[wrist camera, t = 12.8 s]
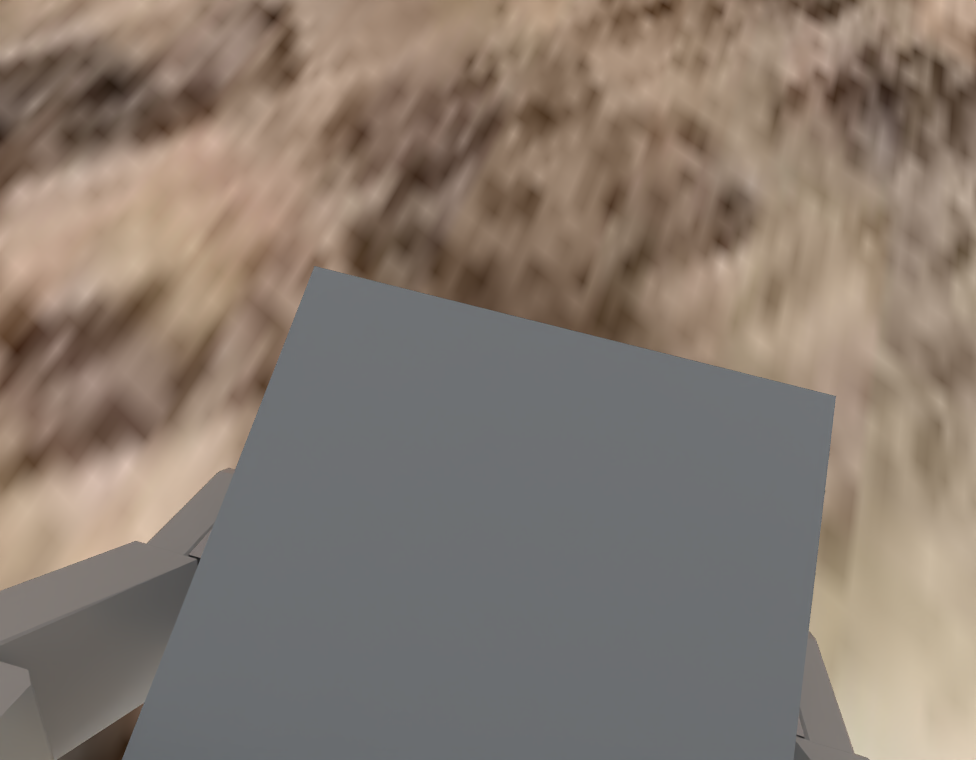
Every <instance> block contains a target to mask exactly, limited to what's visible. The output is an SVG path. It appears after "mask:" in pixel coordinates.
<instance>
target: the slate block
mask: <svg viewBox="0 0 976 760" xmlns="http://www.w3.org/2000/svg"><path fill="white" fill-rule="evenodd" d="M835 399H836V396H833V395H829V394H825V393H821V392H817V391H813V390H809V389H805V388H801V387H797V386H793V385H789V384H785V383H781V382H777V381H773V380H769V379H765V378H761V377H757V376H753V375H749V374H745V373H741V372H737V371H733V370H729V369H725V368H721V367H717V366H713V365H709V364H705V363H701V362H697V361H693V360H689V359H685V358H681V357H677V356H673V355H669V354H665V353H661V352H657V351H653V350H649V349H645V348H641V347H637V346H633V345H629V344H625V343H621V342H617V341H613V340H609V339H605V338H601V337H597V336H593V335H589V334H585V333H581V332H577V331H573V330H569V329H565V328H561V327H557V326H553V325H549V324H545V323H540V322H536V321H532V320H528V319H524V318H520V317H516V316H512V315H508V314H504V313H500V312H496V311H492V310H488V309H484V308H480V307H476V306H472V305H468V304H464V303H460V302H456V301H452V300H448V299H444V298H440V297H436V296H432V295H428V294H424V293H420V292H416V291H412V290H408V289H404V288H400V287H396V286H392V285H388V284H384V283H380V282H376V281H372V280H368V279H364V278H360V277H356V276H352V275H348V274H344V273H340V272H336V271H332V270H328V269H324V268H320V267H316V266H314V269H313V272H312V274H311V277H310V279H309V282H308V284H307V287H306V290H305V292H304V295H303V297H302V300H301V302H300V305H299V307H298V310H297V313H296V315H295V318H294V320H293V323H292V325H291V328H290V331H289V333H288V336H287V338H286V341H285V343H284V346H283V348H282V351H281V354H280V356H279V359H278V361H277V364H276V366H275V369H274V372H273V374H272V377H271V379H270V382H269V384H268V387H267V390H266V392H265V395H264V397H263V400H262V402H261V405H260V407H259V410H258V413H257V415H256V418H255V420H254V423H253V425H252V428H251V431H250V433H249V436H248V438H247V441H246V443H245V446H244V448H243V451H242V454H241V456H240V459H239V461H238V464H237V466H236V469H235V472H234V474H233V477H232V479H231V482H230V484H229V487H228V490H227V492H226V495H225V497H224V500H223V502H222V505H221V507H220V510H219V513H218V515H217V518H216V520H215V523H214V525H213V528H212V531H211V533H210V536H209V538H208V541H207V543H206V546H205V548H204V551H203V554H202V556H201V559H200V561H199V564H198V566H197V569H196V572H195V574H194V577H193V579H192V582H191V584H190V587H189V590H188V592H187V595H186V597H185V600H184V602H183V605H182V607H181V610H180V613H179V615H178V618H177V620H176V623H175V625H174V628H173V631H172V633H171V636H170V638H169V641H168V643H167V646H166V648H165V651H164V654H163V656H162V659H161V661H160V664H159V666H158V669H157V672H156V674H155V677H154V679H153V682H152V684H151V687H150V690H149V692H148V695H147V697H146V700H145V702H144V705H143V707H142V710H141V713H140V715H139V718H138V720H137V723H136V725H135V728H134V731H133V733H132V736H131V738H130V741H129V743H128V746H127V748H126V751H125V754H124V756H123V759H122V760H794V751H795V743H796V734H797V726H798V717H799V708H800V700H801V691H802V683H803V674H804V666H805V657H806V648H807V640H808V631H809V623H810V614H811V605H812V597H813V588H814V580H815V571H816V562H817V554H818V545H819V537H820V528H821V519H822V511H823V502H824V494H825V485H826V476H827V468H828V459H829V451H830V442H831V433H832V425H833V416H834V408H835Z"/></svg>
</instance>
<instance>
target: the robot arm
mask: <svg viewBox="0 0 976 760" xmlns="http://www.w3.org/2000/svg"><path fill="white" fill-rule="evenodd" d="M234 472H235V469H231V468H227V469H224V470H222V471H219V472H218V473H217V474H216V475H215V476H214V477H213V478H212V479H211V480H210V481H209V482H208V483H207V484H206V485H205V486H204V487H203V488H202V489H201V490H200V491H199V492H198V493H197V494H196V495H195V496H194V497H193V498H192V499H191V500H190V501H189V502H188V503H187V504H186V505H185V506H184V507H183V508H182V509H181V510H180V511H179V512H178V513H177V514H176V515H175V516H174V517H173V518H172V519H171V520H170V521H169V522H168V523H167V524H166V525H165V526H164V527H163V528H162V529H161V530H160V531H159V532H158V533H157V534H156V535H155V536H154V537H153V538H152V539H151V540H150V541H149V542H148V543H147V544H145V543H142V542H138V541H134V542H132V543H129V544H126V545H123V546H121V547H118V548H115V549H113V550H110V551H107V552H104V553H102V554H99V555H96V556H94V557H91V558H88V559H86V560H83V561H80V562H77V563H75V564H72V565H69V566H67V567H64V568H61V569H58V570H56V571H53V572H50V573H48V574H45V575H42V576H40V577H37V578H34V579H31V580H29V581H26V582H23V583H21V584H18V585H15V586H12V587H10V588H7V589H4V590H2V591H0V760H57V759H58V758H60V757H61V756H63V755H64V754H66V753H67V752H69V751H71V750H72V749H74V748H75V747H77V746H78V745H80V744H81V743H83V742H84V741H86V740H87V739H89V738H90V737H92V736H94V735H95V734H97V733H98V732H100V731H101V730H103V729H104V728H106V727H107V726H109V725H110V724H112V723H113V722H115V721H117V720H118V719H120V718H121V717H123V716H124V715H126V714H127V713H129V712H130V711H132V710H133V709H135V708H136V707H138V706H140V705H141V704H143V703H144V702H145V700H146V697H147V695H148V692H149V690H150V687H151V684H152V682H153V679H154V677H155V674H156V672H157V669H158V666H159V664H160V661H161V659H162V656H163V654H164V651H165V648H166V646H167V643H168V641H169V638H170V636H171V633H172V631H173V628H174V625H175V623H176V620H177V618H178V615H179V613H180V610H181V607H182V605H183V602H184V600H185V597H186V595H187V592H188V590H189V587H190V584H191V582H192V579H193V577H194V574H195V572H196V569H197V566H198V564H199V561H200V559H201V556H202V554H203V551H204V548H205V546H206V543H207V541H208V538H209V536H210V533H211V531H212V528H213V525H214V523H215V520H216V518H217V515H218V513H219V510H220V507H221V505H222V502H223V500H224V497H225V495H226V492H227V490H228V487H229V484H230V482H231V479H232V477H233V474H234ZM794 760H869V759H868V758H866V757H863V756H860V755H857V754H855V753H854V750H853V747H852V744H851V741H850V738H849V735H848V733H847V730H846V727H845V724H844V721H843V718H842V715H841V712H840V709H839V706H838V703H837V700H836V697H835V694H834V691H833V688H832V686H831V683H830V680H829V677H828V674H827V671H826V668H825V665H824V662H823V659H822V656H821V653H820V650H819V647H818V644H817V641H816V639H815V637H814V636H813V635H812V634H811V633H810V632H809V631H808V640H807V648H806V657H805V666H804V674H803V683H802V691H801V700H800V708H799V717H798V726H797V734H796V743H795V751H794Z"/></svg>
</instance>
